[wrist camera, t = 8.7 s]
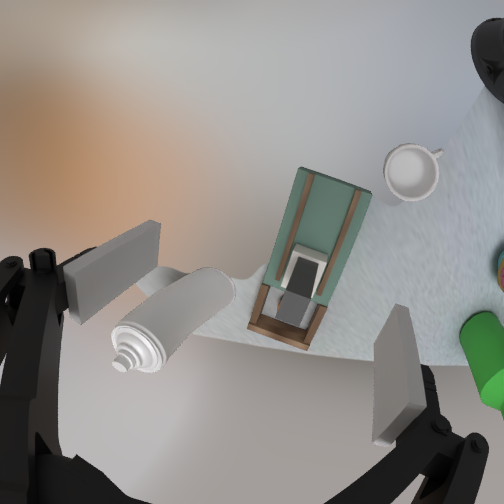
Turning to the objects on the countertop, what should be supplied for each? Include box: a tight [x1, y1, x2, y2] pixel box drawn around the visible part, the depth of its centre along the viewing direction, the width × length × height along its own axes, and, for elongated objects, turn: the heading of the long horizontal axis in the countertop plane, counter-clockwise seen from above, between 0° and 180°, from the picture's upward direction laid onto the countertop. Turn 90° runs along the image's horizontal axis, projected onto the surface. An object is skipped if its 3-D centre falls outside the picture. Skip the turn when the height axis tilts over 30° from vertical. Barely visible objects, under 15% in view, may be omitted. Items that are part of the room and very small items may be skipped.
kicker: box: [275, 244, 328, 326], centre depth 41 cm, size 5×6×13 cm
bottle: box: [460, 312, 504, 419], centre depth 33 cm, size 9×9×25 cm
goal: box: [247, 280, 328, 351], centre depth 52 cm, size 11×9×4 cm
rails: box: [275, 173, 362, 296], centre depth 44 cm, size 8×17×1 cm, turn 165°
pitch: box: [263, 167, 372, 306], centre depth 46 cm, size 11×19×3 cm, turn 165°
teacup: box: [383, 144, 444, 201], centre depth 37 cm, size 10×8×5 cm
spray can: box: [111, 267, 236, 373], centre depth 46 cm, size 12×11×25 cm
